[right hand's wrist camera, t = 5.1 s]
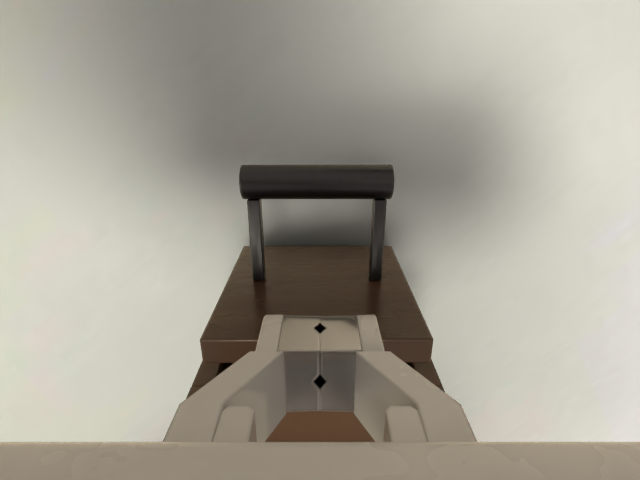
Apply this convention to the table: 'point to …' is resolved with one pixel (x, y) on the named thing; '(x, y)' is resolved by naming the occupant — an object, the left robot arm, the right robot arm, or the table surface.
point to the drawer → (316, 267)
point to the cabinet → (314, 413)
